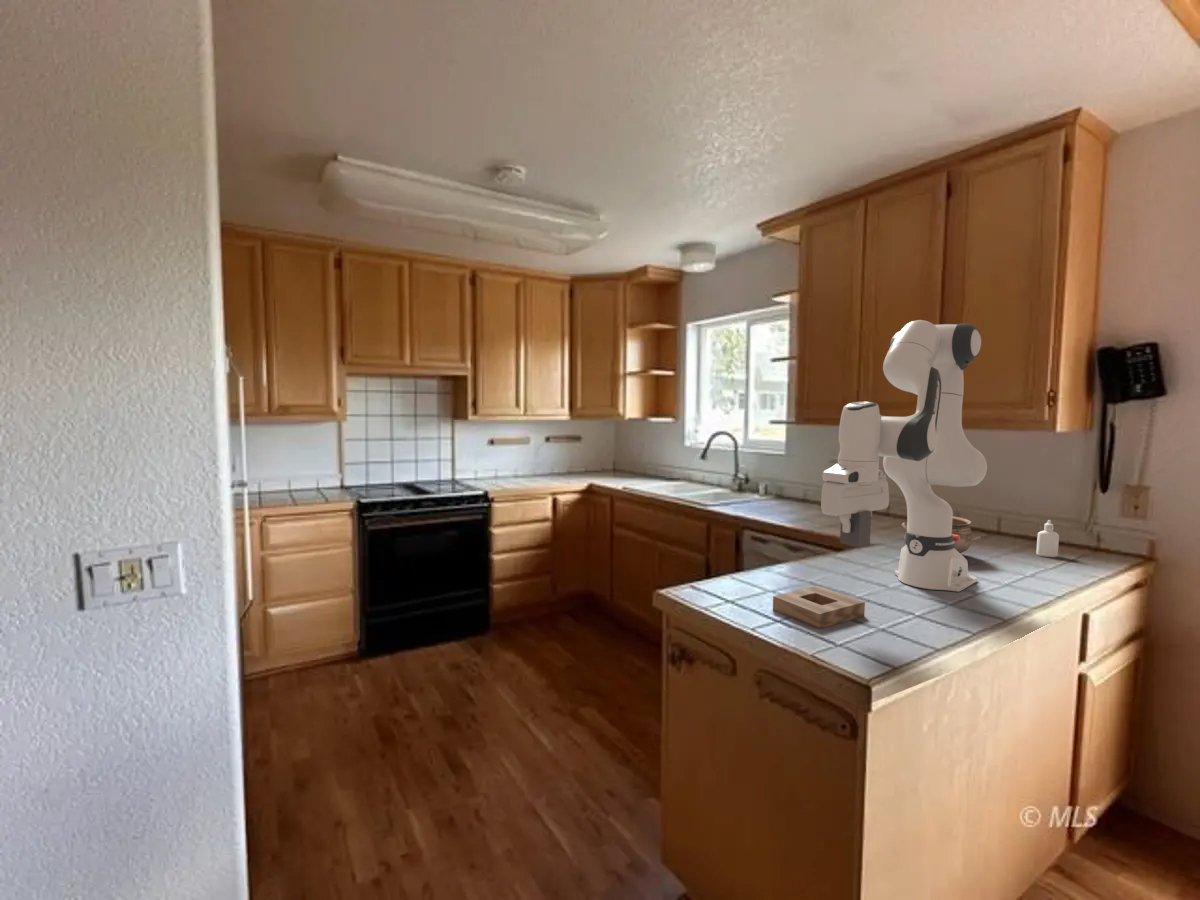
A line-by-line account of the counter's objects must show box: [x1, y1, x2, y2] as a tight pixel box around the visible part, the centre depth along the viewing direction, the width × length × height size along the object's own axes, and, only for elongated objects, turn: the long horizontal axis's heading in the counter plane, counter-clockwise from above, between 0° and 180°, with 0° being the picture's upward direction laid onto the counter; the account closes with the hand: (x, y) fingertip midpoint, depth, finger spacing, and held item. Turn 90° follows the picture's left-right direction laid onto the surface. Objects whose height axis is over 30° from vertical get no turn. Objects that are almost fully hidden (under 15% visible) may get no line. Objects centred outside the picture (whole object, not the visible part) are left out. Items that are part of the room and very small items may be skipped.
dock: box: [772, 585, 866, 630], centre depth 147 cm, size 16×14×4 cm
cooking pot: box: [901, 516, 982, 554], centre depth 199 cm, size 25×19×12 cm
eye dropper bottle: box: [1035, 519, 1060, 558], centre depth 199 cm, size 4×6×12 cm
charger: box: [839, 511, 872, 548], centre depth 141 cm, size 4×5×8 cm
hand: (855, 531), depth 141 cm, fingers closed on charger, 4 cm apart
